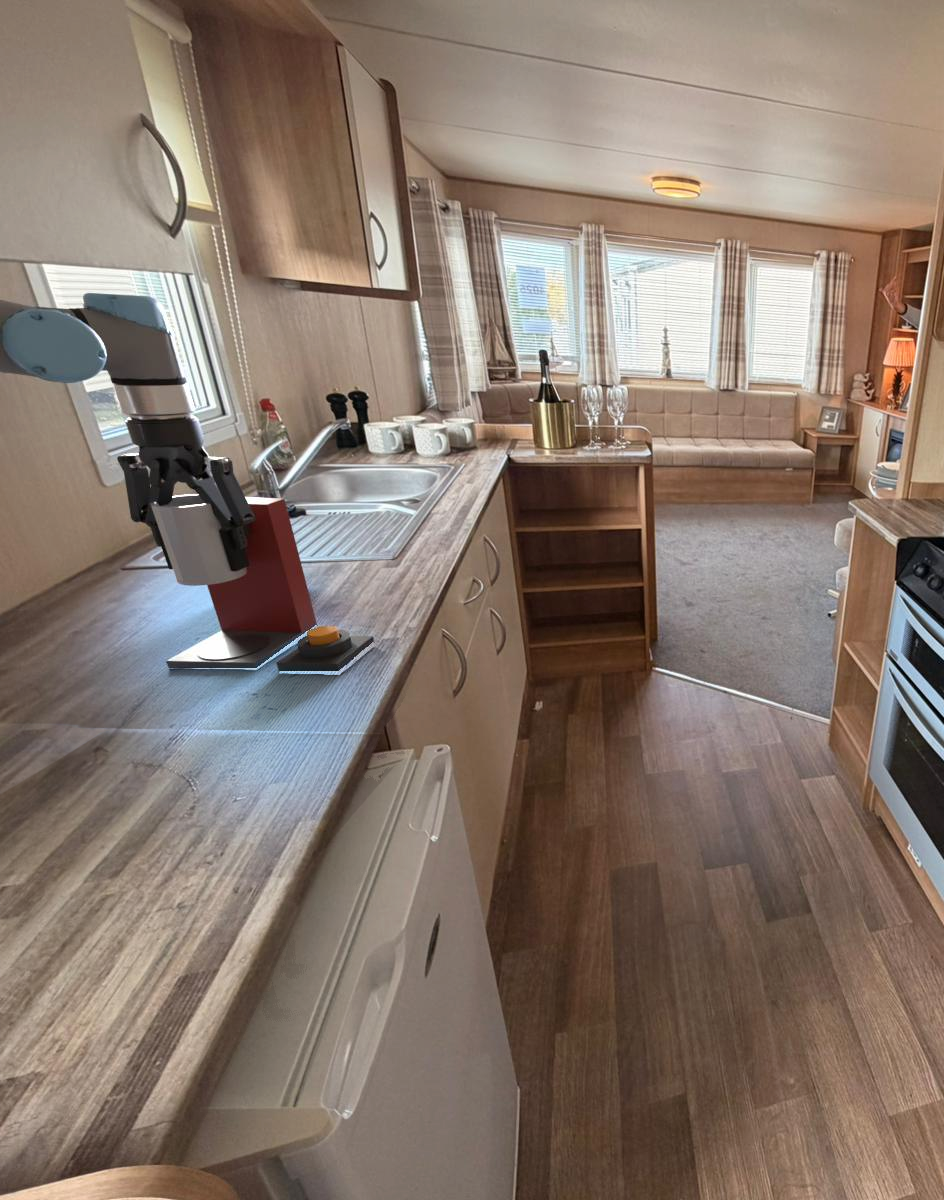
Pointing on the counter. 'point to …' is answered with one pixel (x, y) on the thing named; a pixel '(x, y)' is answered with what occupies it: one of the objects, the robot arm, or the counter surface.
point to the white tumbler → (193, 541)
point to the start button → (323, 635)
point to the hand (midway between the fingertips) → (210, 567)
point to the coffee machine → (257, 598)
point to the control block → (324, 654)
